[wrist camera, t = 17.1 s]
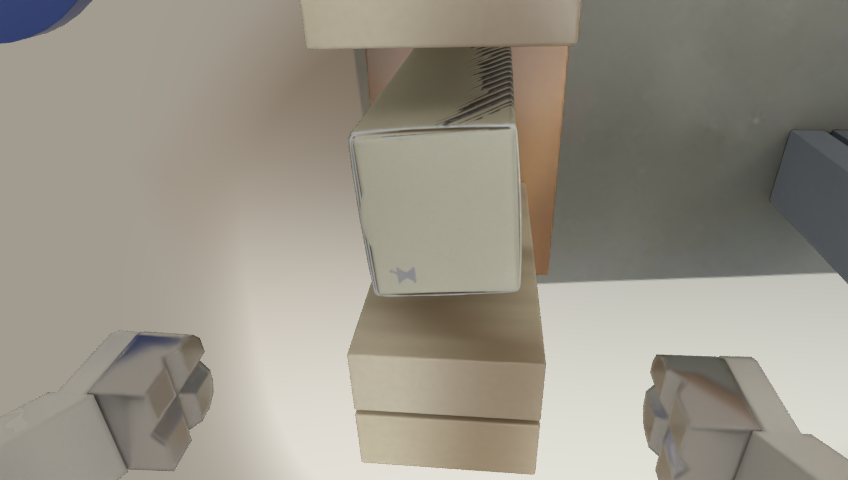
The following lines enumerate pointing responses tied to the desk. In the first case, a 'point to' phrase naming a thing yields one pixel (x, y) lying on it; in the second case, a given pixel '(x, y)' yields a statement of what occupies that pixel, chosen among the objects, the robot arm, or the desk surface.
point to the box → (441, 176)
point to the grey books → (816, 192)
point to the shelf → (471, 313)
